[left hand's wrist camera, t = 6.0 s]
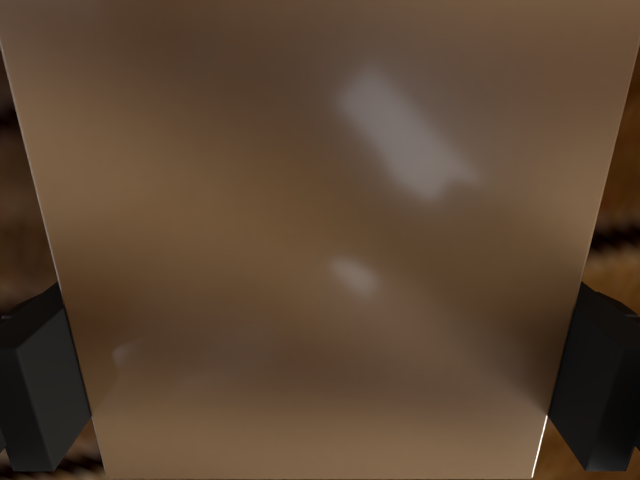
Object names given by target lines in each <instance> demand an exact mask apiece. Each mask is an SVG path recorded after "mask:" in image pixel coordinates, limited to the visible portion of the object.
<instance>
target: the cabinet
mask: <svg viewBox="0 0 640 480" xmlns="http://www.w3.org/2000/svg"><path fill="white" fill-rule="evenodd" d="M639 45H640V0H0V49H1V53H2V57H3V61H4V65H5V69H6V73H7V77H8V81H9V85H10V89H11V93H12V97H13V101H14V105H15V109H16V114H17V118H18V122H19V126H20V130H21V134H22V138H23V142H24V146H25V150H26V154H27V158H28V162H29V166H30V170H31V174H32V178H33V182H34V186H35V190H36V194H37V198H38V202H39V207H40V211H41V215H42V219H43V223H44V227H45V231H46V235H47V239H48V243H49V247H50V251H51V255H52V259H53V263H54V267H55V271H56V275H57V279H58V283H59V287H60V291H61V296H62V300H63V304H64V308H65V312H66V316H67V320H68V324H69V328H70V332H71V336H72V340H73V344H74V348H75V352H76V356H77V360H78V364H79V368H80V372H81V376H82V380H83V384H84V389H85V393H86V397H87V401H88V405H89V409H90V413H91V417H92V421H93V425H94V429H95V433H96V437H97V441H98V445H99V449H100V453H101V457H102V461H103V465H104V469H105V473H106V477H107V478H108V479H531V478H532V477H533V475H534V471H535V467H536V463H537V459H538V454H539V450H540V446H541V442H542V438H543V434H544V430H545V426H546V422H547V418H548V414H549V410H550V406H551V402H552V398H553V394H554V390H555V386H556V382H557V377H558V373H559V369H560V365H561V361H562V357H563V353H564V349H565V345H566V341H567V337H568V333H569V329H570V325H571V321H572V317H573V313H574V309H575V305H576V301H577V296H578V292H579V288H580V284H581V280H582V276H583V272H584V268H585V264H586V260H587V256H588V252H589V248H590V244H591V240H592V236H593V232H594V228H595V224H596V219H597V215H598V211H599V207H600V203H601V199H602V195H603V191H604V187H605V183H606V179H607V175H608V171H609V167H610V163H611V159H612V155H613V151H614V147H615V142H616V138H617V134H618V130H619V126H620V122H621V118H622V114H623V110H624V106H625V102H626V98H627V94H628V90H629V86H630V82H631V78H632V74H633V70H634V66H635V61H636V57H637V53H638V49H639Z"/></svg>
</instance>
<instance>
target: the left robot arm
mask: <svg viewBox="0 0 640 480" xmlns="http://www.w3.org/2000/svg"><path fill="white" fill-rule="evenodd" d="M548 417H549V418H550V420H551V421H552V423H553V424H554V426H555V427H556V429H557V430H558V431H559V433H560V434H561V436H562V437H563V439H564V440H565V442H566V443H567V445H568V446H569V448H570V449H571V451H572V452H573V453H574V455H575V456H576V458H577V459H578V461H579V462H580V464H581V465H582V467H583V468H584V470H585V471H626V469H627V467H628V464H629V461H630V458H631V455H632V453H633V450H634V447H635V446H636V447H637V448H638V450H639V451H640V317H638V314H636V313H635V312H634V311H632V310H631V309H630V308H628V307H627V306H625V305H624V304H623V303H621V302H619V301H617V300H615V299H613V298H611V297H608V296H606V295H604V294H602V293H600V292H595V291H594V290H592V289H591V288H590V287H588V286H587V285H586V284H584V283H583V282H582V281H581V284H580V288H579V292H578V296H577V301H576V305H575V309H574V313H573V317H572V321H571V325H570V329H569V333H568V337H567V341H566V345H565V349H564V353H563V357H562V361H561V365H560V369H559V373H558V377H557V382H556V386H555V390H554V394H553V398H552V402H551V406H550V410H549V414H548ZM90 418H91V413H90V409H89V405H88V401H87V397H86V393H85V389H84V384H83V380H82V376H81V372H80V368H79V364H78V360H77V356H76V352H75V348H74V344H73V340H72V336H71V332H70V328H69V324H68V320H67V316H66V312H65V308H64V304H63V300H62V296H61V291H60V287H59V283H58V282H56V283H55V284H54V285H52V286H51V287H50V288H49V289H47V290H46V291H45V292H43V293H42V294H39V295H37V296H35V297H33V298H31V299H28V300H26V301H24V302H22V303H20V304H18V305H17V306H15V307H14V308H13V309H11V310H10V311H9V312H7V313H6V314H4V315H3V316H2V319H0V453H1V451H2V450H3V449H4V448H5V449H6V451H7V454H8V457H9V460H10V463H11V466H12V468H13V471H54V470H55V469H56V467H57V466H58V465H59V463H60V462H61V460H62V459H63V457H64V456H65V454H66V453H67V451H68V450H69V448H70V447H71V445H72V444H73V443H74V441H75V440H76V438H77V437H78V435H79V434H80V432H81V431H82V429H83V428H84V426H85V425H86V423H87V422H88V420H89V419H90Z"/></svg>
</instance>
